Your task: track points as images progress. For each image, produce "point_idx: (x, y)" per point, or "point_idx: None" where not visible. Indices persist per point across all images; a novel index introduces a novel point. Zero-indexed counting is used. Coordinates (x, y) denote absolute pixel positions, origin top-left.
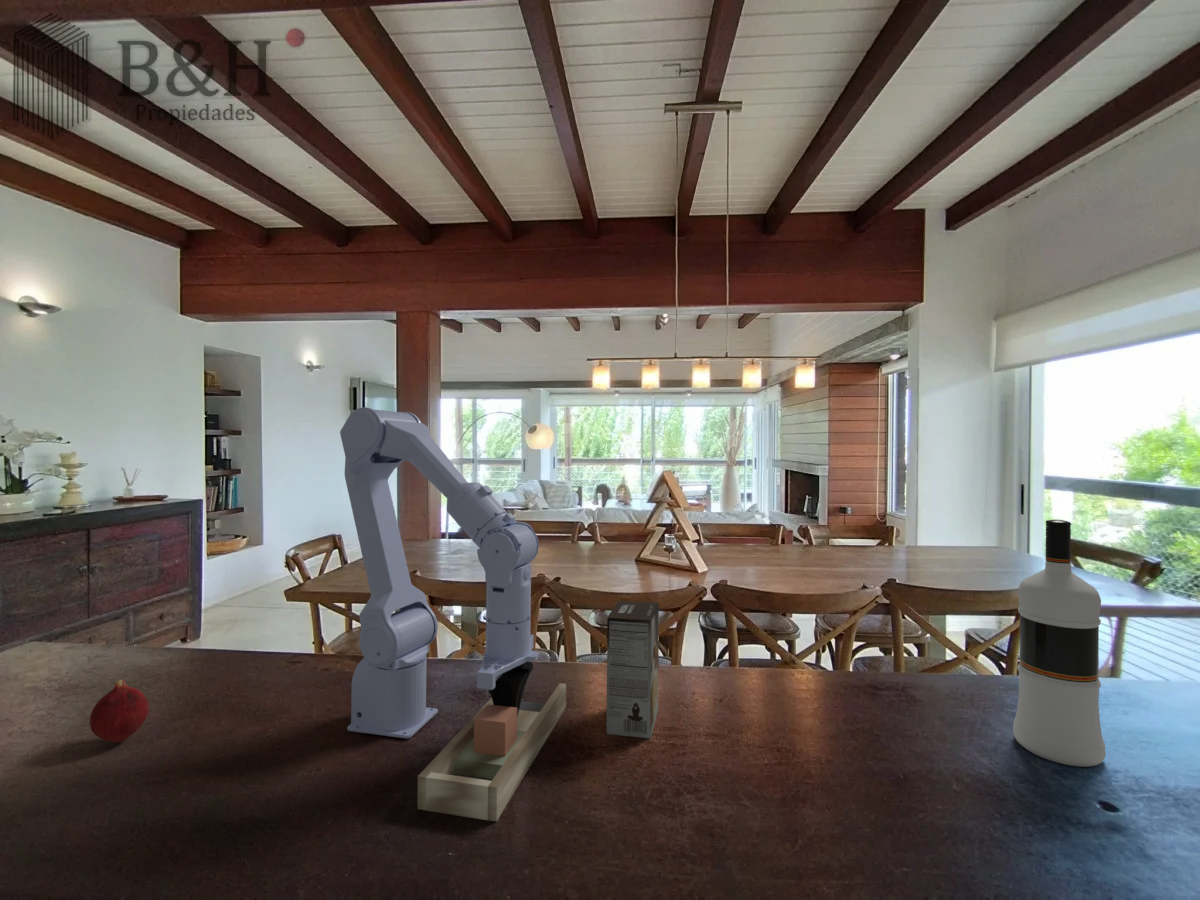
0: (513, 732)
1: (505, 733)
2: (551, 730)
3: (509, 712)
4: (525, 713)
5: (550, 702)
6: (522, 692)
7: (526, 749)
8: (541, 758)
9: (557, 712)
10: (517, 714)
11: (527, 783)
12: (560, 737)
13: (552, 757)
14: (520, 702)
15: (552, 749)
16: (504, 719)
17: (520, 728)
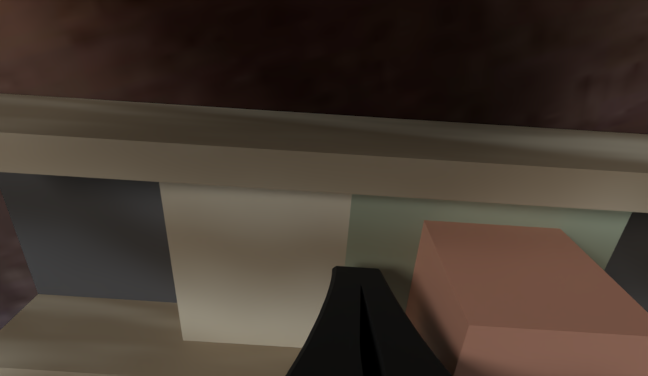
0: (488, 253)
1: (625, 291)
2: (205, 107)
3: (534, 347)
4: (196, 243)
5: (122, 158)
6: (318, 358)
7: (584, 159)
8: (423, 95)
9: (91, 110)
10: (349, 283)
11: (599, 103)
12: (243, 53)
13: (412, 49)
14: (326, 315)
15: (349, 65)
16: (626, 349)
17: (328, 230)
